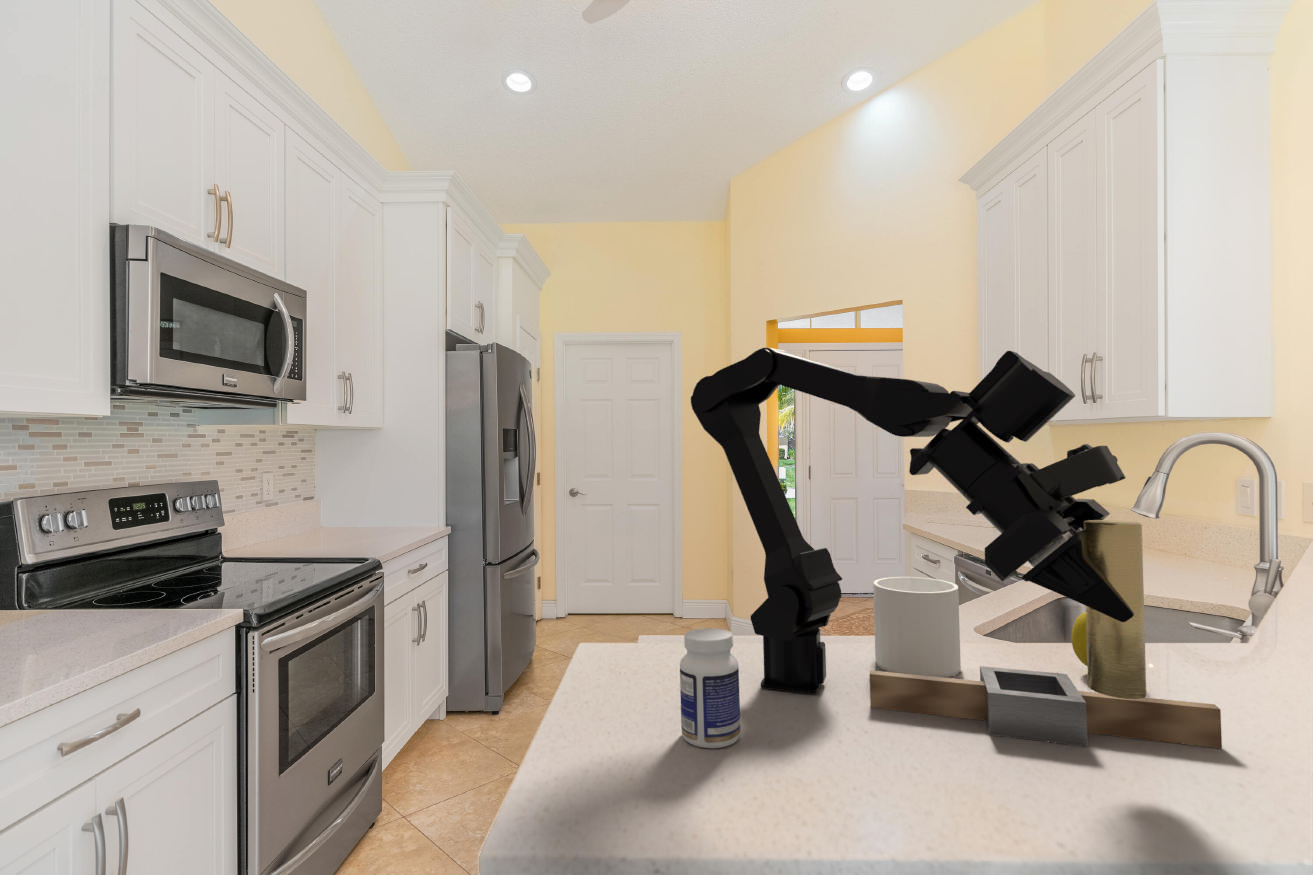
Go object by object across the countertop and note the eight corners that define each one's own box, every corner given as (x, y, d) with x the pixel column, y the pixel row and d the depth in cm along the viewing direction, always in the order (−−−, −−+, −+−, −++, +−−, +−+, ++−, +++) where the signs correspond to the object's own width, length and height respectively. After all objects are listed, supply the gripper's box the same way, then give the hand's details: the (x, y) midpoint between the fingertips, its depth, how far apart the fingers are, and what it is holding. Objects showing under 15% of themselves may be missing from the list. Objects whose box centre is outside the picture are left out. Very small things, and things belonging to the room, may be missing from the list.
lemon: (1138, 684, 74) (1136, 613, 74) (1084, 681, 75) (1082, 612, 75) (1114, 668, 79) (1112, 602, 80) (1064, 666, 81) (1062, 601, 81)
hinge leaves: (870, 706, 69) (869, 673, 69) (871, 702, 70) (870, 670, 70) (1222, 748, 58) (1220, 709, 58) (1216, 742, 59) (1214, 704, 59)
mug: (979, 674, 78) (976, 589, 78) (907, 683, 76) (904, 595, 76) (914, 645, 90) (912, 571, 91) (849, 652, 88) (847, 576, 88)
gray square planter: (989, 734, 62) (988, 692, 62) (981, 703, 69) (979, 665, 69) (1087, 746, 59) (1086, 702, 59) (1068, 713, 66) (1066, 673, 67)
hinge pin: (1095, 695, 53) (1091, 524, 53) (1082, 679, 57) (1078, 519, 57) (1154, 701, 52) (1149, 526, 52) (1136, 684, 56) (1132, 520, 56)
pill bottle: (746, 728, 64) (743, 627, 65) (733, 754, 59) (731, 644, 59) (690, 721, 66) (688, 623, 67) (673, 745, 61) (671, 639, 61)
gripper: (1024, 411, 51) (1212, 569, 43) (1080, 417, 64) (1232, 538, 56) (925, 506, 56) (1076, 661, 48) (996, 493, 70) (1124, 614, 62)
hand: (1134, 613), depth 54 cm, fingers closed on hinge pin, 4 cm apart
